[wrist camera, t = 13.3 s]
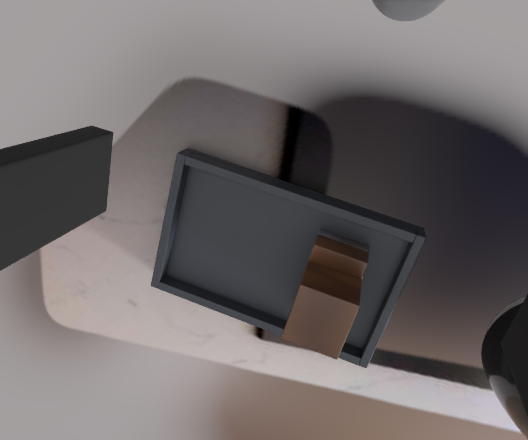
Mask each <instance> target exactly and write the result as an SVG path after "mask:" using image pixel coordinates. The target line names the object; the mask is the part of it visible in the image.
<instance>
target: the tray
mask: <svg viewBox="0 0 528 440" xmlns="http://www.w3.org/2000/svg"><path fill="white" fill-rule="evenodd" d="M319 229H321V230H324V231H327V232H330V233H333V234H335V235H338V236H341V237H344V238H347V239H350V240H353V241H355V242H358V243H361V244H364V245H367V246H369V263H368V266H367V269H366V271H365V274H364V276H363V279H362V285H361V297H360V307H359V310H358V312H357V314H356V317H355V319H354V321H353V324H352V326H351V329H350V331H349V333H348V336H347V338H346V340H345V343H344V345H343V347H342V350H341V352H340V354H339V357H338V358H341V359H343V360H346V361H348V362H351V363H354V364H356V365H358V364H359V366H362V367H364V368H367V366H368V364H369V362H370V360H371V358H372V355H373V353H374V351H375V349H376V347H377V344H378V342H379V340H380V338H381V336H382V334H383V332H384V329H385V327H386V325H387V323H388V320H389V318H390V316H391V314H392V312H393V310H394V307H395V305H396V303H397V301H398V299H399V297H400V294H401V292H402V290H403V288H404V286H405V284H406V281H407V279H408V277H409V275H410V273H411V271H412V268H413V266H414V264H415V262H416V260H417V258H418V255H419V253H420V251H421V249H422V247H423V244H424V242H425V240H426V235H425V232H424V228H421V227H419V226H415V225H413V224H410V223H407V222H404V221H401V220H398V219H395V218H392V217H389V216H386V215H383V214H380V213H377V212H374V211H371V210H368V209H365V208H362V207H360V206H357V205H353V204H350V203H348V202H345V201H342V200H339V199H336V198H333V197H330V196H327V195H324V194H321V193H318V192H315V191H312V190H309V189H306V188H303V187H300V186H298V185H295V184H292V183H289V182H286V181H283V180H280V179H277V178H274V177H271V176H268V175H265V174H262V173H259V172H256V171H253V170H250V169H247V168H244V167H241V166H239V165H236V164H233V163H230V162H227V161H224V160H221V159H218V158H215V157H212V156H209V155H206V154H203V153H200V152H197V151H194V150H191V149H188V148H187V149H185V150H183V151H181V152H179V153H177V158H176V163H175V168H174V173H173V178H172V183H171V188H170V193H169V198H168V203H167V207H166V212H165V217H164V222H163V227H162V232H161V237H160V242H159V247H158V252H157V257H156V262H155V267H154V272H153V277H152V282H151V286H153V287H155V288H158V289H160V290H163V291H166V292H168V293H171V294H173V295H176V296H179V297H181V298H184V299H187V300H189V301H192V302H194V303H197V304H200V305H202V306H205V307H207V308H210V309H213V310H215V311H218V312H220V313H223V314H226V315H228V316H231V317H234V318H236V319H239V320H241V321H244V322H247V323H249V324H252V325H254V326H257V327H260V328H262V329H265V330H267V331H270V332H273V333H275V334H278V335H281V336H282V334H283V331H284V328H285V326H286V323H287V320H288V317H289V314H290V311H291V308H292V305H293V303H294V300H295V297H296V294H297V291H298V288H299V286H300V283H301V280H302V277H303V274H304V271H305V269H306V266H307V263H308V260H309V257H310V254H311V252H312V249H313V246H314V243H315V240H316V238H317V235H318V232H319Z"/></svg>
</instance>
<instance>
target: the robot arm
mask: <svg viewBox="0 0 528 440" xmlns="http://www.w3.org/2000/svg"><path fill="white" fill-rule="evenodd" d="M112 140H113V132H111V131H107V130H104V129H101V128H98V127H94V126H89V127H85V128H81V129H77V130H73V131H70V132H66V133H61V134H57V135H54V136H50V137H46V138H42V139H38V140H34V141H31V142H26V143H23V144H19V145H15V146H11V147H7V148H3V149H0V270H2V269H4V268H6V267H8V266H10V265H11V264H13V263H15V262H16V261H18V260H20V259H22V258H24V257H25V256H27V255H29V254H31V253H32V252H34V251H36V250H38V249H39V248H41V247H43V246H45V245H47V244H48V243H50V242H52V241H54V240H55V239H57V238H59V237H61V236H62V235H64V234H66V233H68V232H69V231H71V230H73V229H75V228H77V227H78V226H80V225H82V224H84V223H85V222H87V221H89V220H91V219H92V218H94V217H96V216H98V215H99V214H101V213H103V212H105V211H106V207H107V195H108V184H109V173H110V162H111V151H112ZM501 346H502V349H503V351H504V354H505V357H506V360H507V362H508V365H509V368H510V370H511V373H512V376H513V379H514V381H515V384H516V387H517V390H518V392H519V395H520V398H521V400H522V403H523V406H524V409H525V411H526V414H527V417H528V294H527V296H526V298H525V300H524V302H523V303H522V305H521V307H520V309H519V311H518V312H517V314H516V316H515V318H514V320H513V321H512V323H511V325H510V327H509V329H508V331H507V332H506V334H505V336H504V338H503V340H502V341H501Z"/></svg>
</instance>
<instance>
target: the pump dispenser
mask: <svg viewBox="0 0 528 440" xmlns="http://www.w3.org/2000/svg"><path fill="white" fill-rule="evenodd" d="M525 298H526V296H525V297H522V298H519V299H517V300H515V301H513V302H511V303H510V304H508V305H506V306H505V307H504V308H503V309H502V310H500V311H499V312H498V314H497V315H496V316H495V317H494V319H493V320H492V322H491V324H490V326H489V328H488V331H487V333H486V335H485V338H484V341H483V344H482V352H481V353H482V363H483V367H484V371H485V373H486V376H487V379H488V381H489V383H490V385H491V387H492V389H493V391H494V392H495V394H496V396H497V398H498V399H499V401H500V403H501V404H502V406H503V408H504V409H505V411H506V412H507V414H508V415H509V417H510V418H511V419H512V421H513V422H514V423H515V425H516V426H517V427H518V428H519V430H520V431H521V432H522V433H523V434H524V435H525V437H526V438H527V439H528V417H527V414H526V411H525V409H524V406H523V403H522V400H521V398H520V395H519V392H518V390H517V387H516V384H515V381H514V379H513V376H512V373H511V370H510V368H509V365H508V362H507V360H506V357H505V354H504V351H503V349H502V346H501V341H502V340H503V338H504V336H505V334H506V332H507V331H508V329H509V327H510V325H511V323H512V321H513V320H514V318H515V316H516V314H517V312H518V311H519V309H520V307H521V305H522V303H523V302H524V300H525Z"/></svg>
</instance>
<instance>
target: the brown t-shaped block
mask: <svg viewBox="0 0 528 440" xmlns="http://www.w3.org/2000/svg"><path fill="white" fill-rule="evenodd" d="M368 263H369V246H367V245H364V244H361V243H358V242H355V241H353V240H350V239H347V238H344V237H341V236H338V235H335V234H333V233H330V232H327V231H324V230H321V229H319V232H318V235H317V238H316V240H315V243H314V246H313V249H312V252H311V254H310V257H309V260H308V263H307V266H306V269H305V271H304V274H303V277H302V280H301V283H300V286H299V288H298V291H297V294H296V297H295V300H294V303H293V305H292V308H291V311H290V314H289V317H288V320H287V323H286V326H285V328H284V331H283V334H282V339H285V340H287V341H290V342H293V343H295V344H298V345H300V346H303V347H306V348H308V349H311V350H313V351H316V352H319V353H321V354H324V355H326V356H329V357H332V358H334V359H338V357H339V354H340V352H341V350H342V347H343V345H344V343H345V340H346V338H347V336H348V333H349V331H350V329H351V326H352V324H353V321H354V319H355V317H356V314H357V312H358V310H359V307H360V297H361V285H362V279H363V276H364V274H365V271H366V269H367V266H368Z"/></svg>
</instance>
